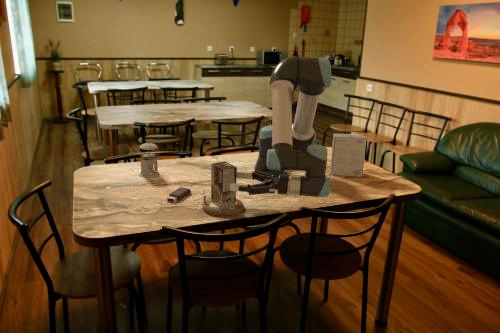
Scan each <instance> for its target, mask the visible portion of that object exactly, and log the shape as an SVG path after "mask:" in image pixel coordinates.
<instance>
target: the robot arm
mask: <svg viewBox="0 0 500 333" xmlns="http://www.w3.org/2000/svg"><path fill="white" fill-rule="evenodd" d="M269 78H270V79H269V90H270V91H271V93H272V94H271V96H272V97H271V104H272V105H271V106H272V107H271V108H272V109H271V117H272V118H271V119H272V120H271V123H272V124H270V125H266V126H263V127H262V128H261V129H260V130H259V136H258V137H259V143H258V144H259V145H258V158H257V160H256V163H255V165H254V171H252V172H250V171H239V170H237V176H236V179H240V180H241V179H243V180H244V179H245V180H251V181H254V180H256V181H258V182H260V183H255V184H249V183H237V182H236V183H230V191H236V192H241V193H242V192H243V193H248V195H249V196H252V195H253V196H254V195H255V196H256V195H263V194H275V192H276V191H277V194H278V195H289V196H290V195H292V196H294V197H297V196H300V197H302V196H303V197H304V196H305V197H314V198H327V197H329V196H330V192H331V178H330V177H327V175H326V174H327V173H326V172H327V162H328V148H327V147H326V146H324V145H321V144H316V142H317V133H316V130H315V129H314V128H313V124H314V120H315V115H316V111H317V108H318V103H319V100H320V99H319V98H320V96H321V95H322V94H323V93H324V92H325V89H328V88H330V87H331V86H332V65H331V61H330V59H329V58H326V57H311V56H310V57H307V56H288V57H286V58H284V59H282V60H281V61H279V63H278V64H277V65H276V66H275V67H274V69H273V70H272V73H271V76H270V77H269ZM295 87H297V89H298V91H299V93H298V100H297V103H296V104H297V106H296V111H295V115H294V120H293V115H292V113H293V108H292V100H293V99H292V92H293V91H294V88H295ZM286 171H295V172H296V171H297V172H304V175H298V174H297V175H296V174H290V175H288V174H285V173H286Z"/></svg>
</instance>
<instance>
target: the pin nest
mask: <svg viewBox="0 0 500 333" xmlns="http://www.w3.org/2000/svg"><path fill="white" fill-rule="evenodd" d="M203 210H204V211H203ZM202 211H203V212H204V213H205V212H206V213H205V214H207V215H209V214H210V215H209V216H212V215H213V217H217V216H221V218H223V217H222V216H230V217H233V216H232V215H235V216H237V215H236V214H238V213H240V212H241V211H242V212H243V211H244V203H243V202H242V200H240V199H237V198H236V206H235V207H231V208H226V209H221V205H219V207H218V206H217V205H215V204H214V203H212V202H211V197H210V198H208V199H207V197H206V195H203V200H202ZM242 212H241V213H242ZM241 213H240V214H241ZM238 215H239V214H238Z"/></svg>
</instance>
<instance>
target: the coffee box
mask: <svg viewBox="0 0 500 333" xmlns="http://www.w3.org/2000/svg"><path fill="white" fill-rule="evenodd" d="M210 167H211V168H210V170H211V171H210V173H211V176H210V179H211V181H210V189H211V190H210V193H211V195H210V196H211V197H210V198H211V202H212V203H214V204H215V205H217V206H218V207H219V205H221V209H226V208H231V207H235V206H236V199H237V191H230V183H236V184H237V178H236V176H237V171H238V170H237V168H238V167H237V166H236V165H233V164H231V163H229V162H227V161H218V162H212V163H210Z"/></svg>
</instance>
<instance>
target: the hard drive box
mask: <svg viewBox="0 0 500 333" xmlns="http://www.w3.org/2000/svg"><path fill="white" fill-rule="evenodd" d="M367 142H368V141H367V137H366V136H365V134H358V133H356V134H354V133H353V134H352V133H333V135H332V145H331V157H330V158H331V159H330V167H329V172H330V175H331V176H342V177H343V176H344V177H357V178H358V177H359V178H362V177H363V173H364V172H363V171H364V164H365V157H366V148H367Z"/></svg>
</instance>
